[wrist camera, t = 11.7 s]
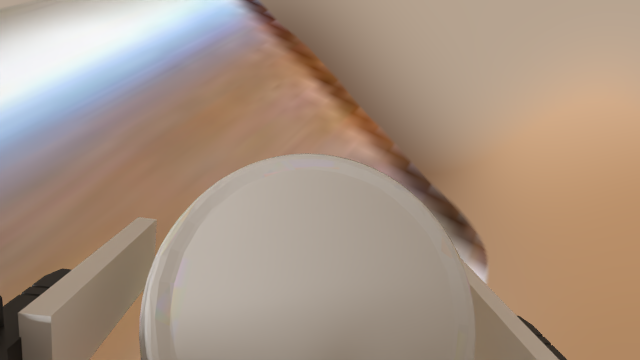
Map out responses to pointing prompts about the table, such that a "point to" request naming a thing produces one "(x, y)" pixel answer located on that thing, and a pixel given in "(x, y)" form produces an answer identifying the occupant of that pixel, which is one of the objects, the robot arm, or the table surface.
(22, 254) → the table surface
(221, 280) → the coffee cup
